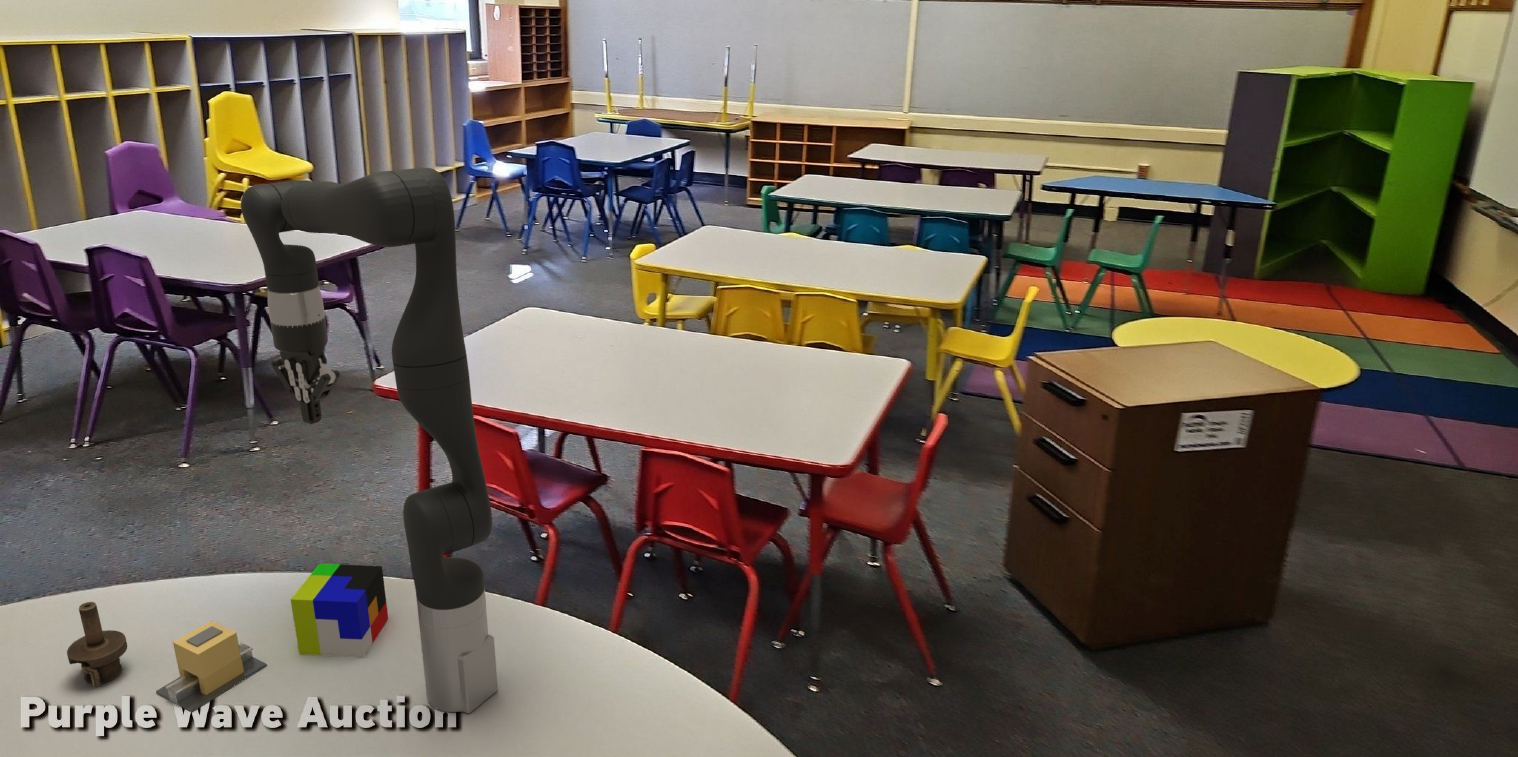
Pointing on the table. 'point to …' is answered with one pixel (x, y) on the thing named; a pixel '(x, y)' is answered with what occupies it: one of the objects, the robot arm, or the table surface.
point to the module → (209, 656)
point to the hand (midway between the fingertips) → (312, 421)
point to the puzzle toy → (340, 610)
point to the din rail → (188, 686)
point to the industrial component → (97, 648)
